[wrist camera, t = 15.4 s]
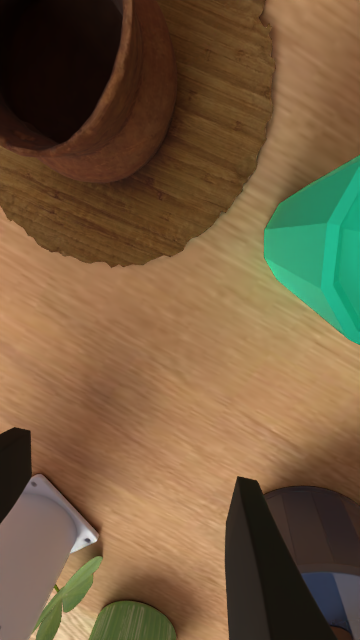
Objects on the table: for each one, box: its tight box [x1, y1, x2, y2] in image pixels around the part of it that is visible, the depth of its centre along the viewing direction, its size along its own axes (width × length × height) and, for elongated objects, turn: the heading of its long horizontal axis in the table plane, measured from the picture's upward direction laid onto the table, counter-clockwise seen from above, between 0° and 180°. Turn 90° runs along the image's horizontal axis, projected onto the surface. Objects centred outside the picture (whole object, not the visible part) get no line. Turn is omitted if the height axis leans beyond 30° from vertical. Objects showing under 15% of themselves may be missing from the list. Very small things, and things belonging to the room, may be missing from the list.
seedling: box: [32, 556, 103, 640], centre depth 26 cm, size 7×8×6 cm
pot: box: [264, 486, 360, 567], centre depth 20 cm, size 10×10×6 cm
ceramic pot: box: [0, 0, 276, 268], centre depth 12 cm, size 18×18×7 cm
